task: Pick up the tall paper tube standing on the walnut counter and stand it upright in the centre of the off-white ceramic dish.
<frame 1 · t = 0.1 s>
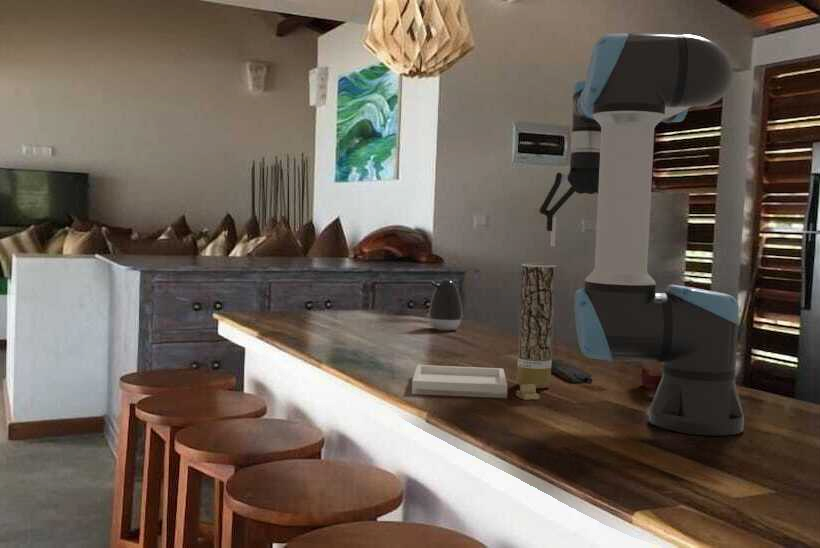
hand: (583, 247, 193), 28 cm above the counter, fingers open, 13 cm apart
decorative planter: (669, 390, 176), on the counter
ceramic dish: (459, 386, 171), on the counter
wood: (568, 376, 190), on the counter
tan short block: (527, 398, 163), on the counter
paper tube: (533, 387, 174), on the counter
pump dispenser: (444, 330, 258), on the counter
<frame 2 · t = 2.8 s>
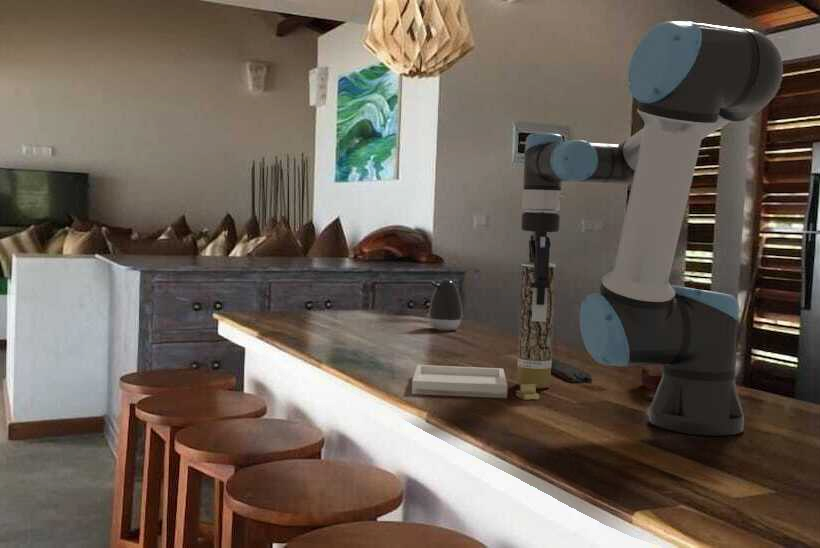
hand: (536, 317, 174), 14 cm above the counter, fingers open, 13 cm apart
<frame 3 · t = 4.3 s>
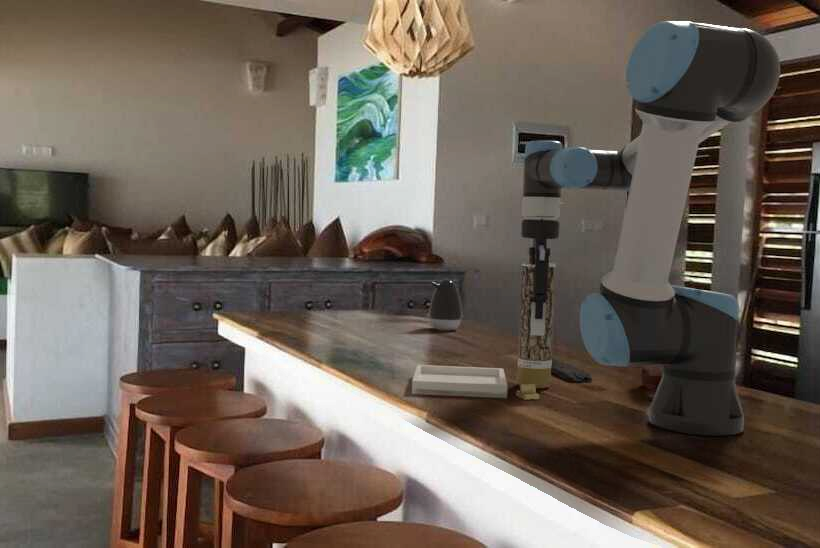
hand: (535, 332, 174), 11 cm above the counter, fingers closed on paper tube, 7 cm apart
paper tube: (533, 387, 174), on the counter, touching gripper
everything else where it was.
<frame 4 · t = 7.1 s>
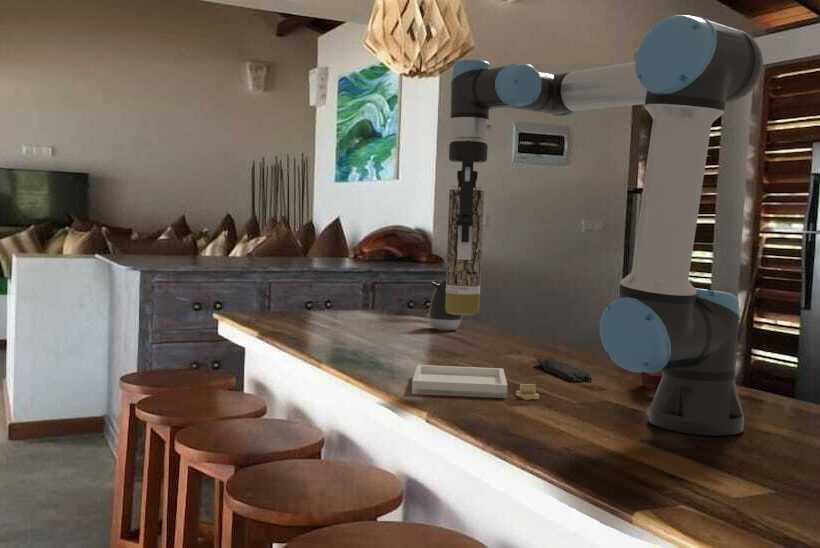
hand: (464, 258, 170), 26 cm above the counter, fingers closed on paper tube, 7 cm apart
paper tube: (462, 314, 170), point 14 cm above the counter, touching gripper
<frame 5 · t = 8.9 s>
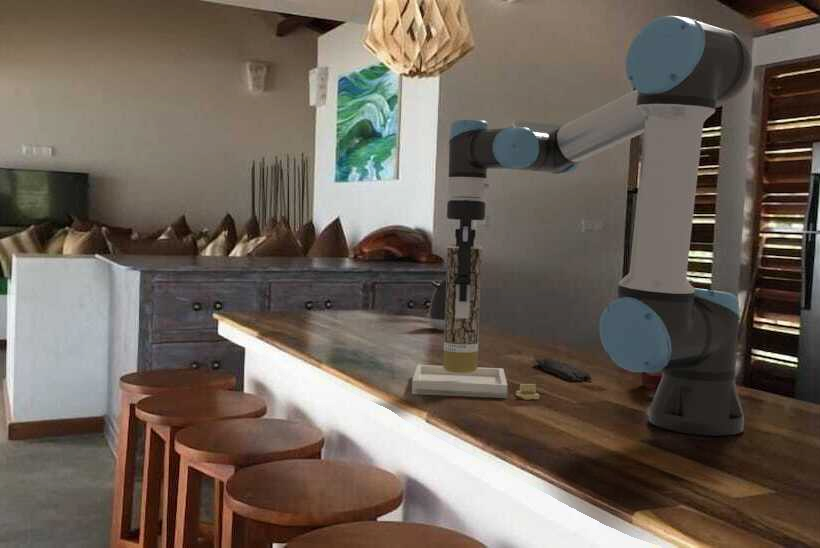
hand: (462, 315, 170), 14 cm above the counter, fingers closed on paper tube, 7 cm apart
paper tube: (459, 371, 171), point 3 cm above the counter, touching gripper
when the fingers open (13 cm above the counter, at t = 9.9 s): paper tube drops 1 cm, resting on ceramic dish.
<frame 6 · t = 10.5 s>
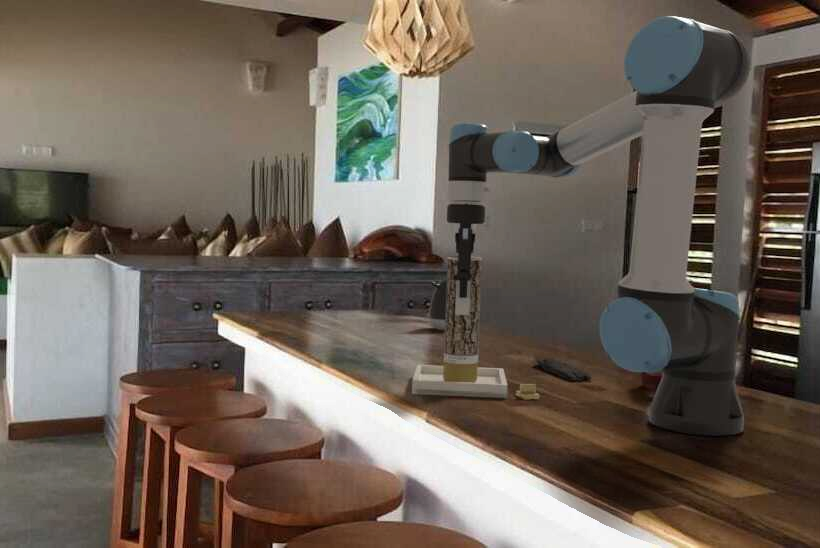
hand: (462, 311, 170), 15 cm above the counter, fingers open, 13 cm apart
paper tube: (459, 382, 171), point 1 cm above the counter, touching ceramic dish
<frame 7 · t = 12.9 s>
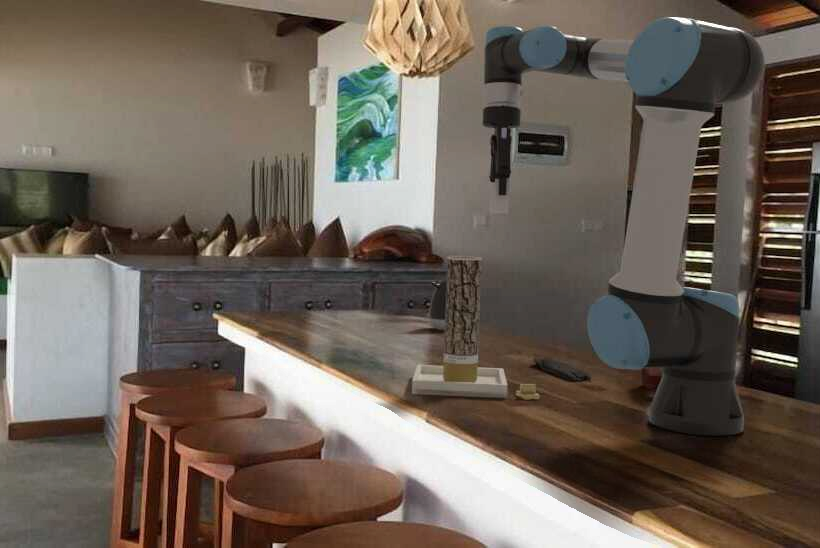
hand: (498, 213, 173), 35 cm above the counter, fingers open, 13 cm apart
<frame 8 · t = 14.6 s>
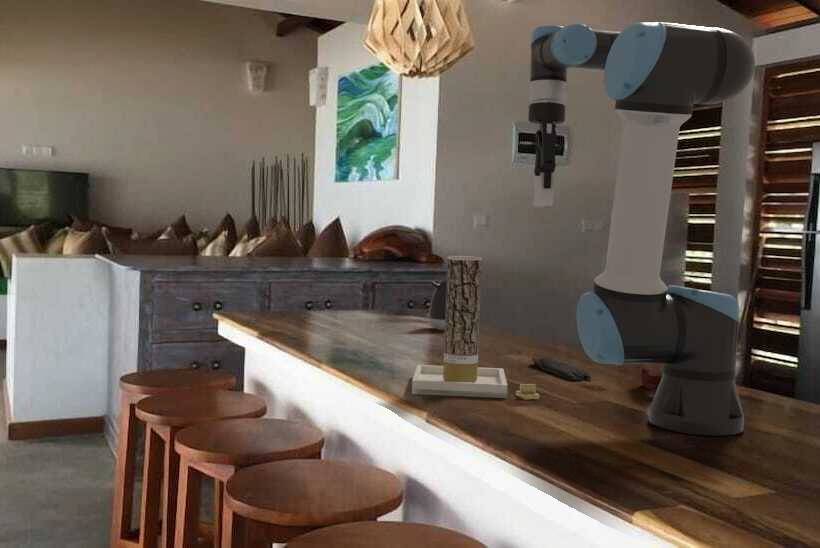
hand: (542, 206, 180), 37 cm above the counter, fingers open, 13 cm apart
at the end: paper tube 0.1 cm from the ceramic dish (horizontally); paper tube tilted 0°; the gripper is holding nothing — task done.
